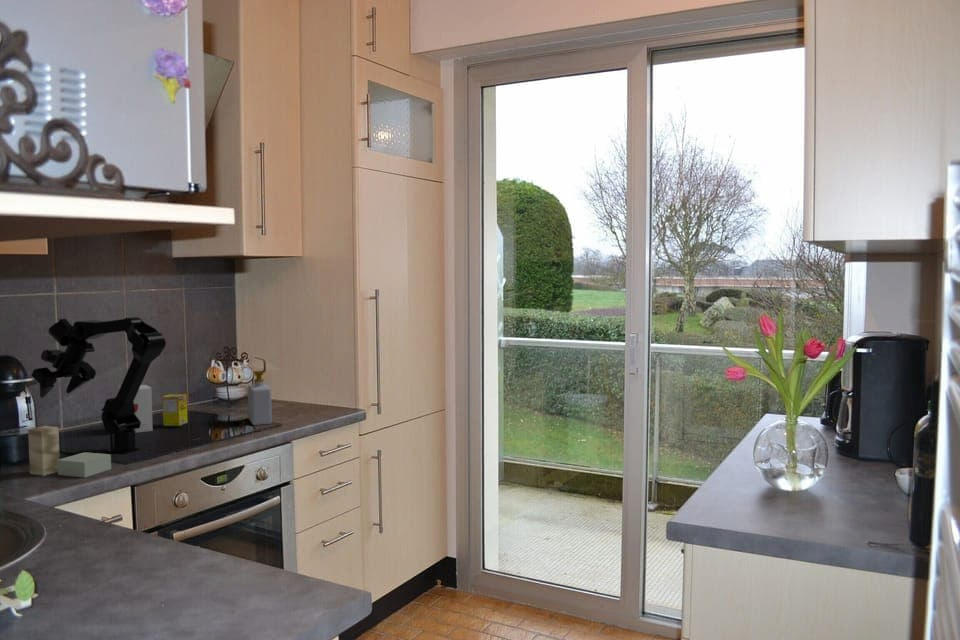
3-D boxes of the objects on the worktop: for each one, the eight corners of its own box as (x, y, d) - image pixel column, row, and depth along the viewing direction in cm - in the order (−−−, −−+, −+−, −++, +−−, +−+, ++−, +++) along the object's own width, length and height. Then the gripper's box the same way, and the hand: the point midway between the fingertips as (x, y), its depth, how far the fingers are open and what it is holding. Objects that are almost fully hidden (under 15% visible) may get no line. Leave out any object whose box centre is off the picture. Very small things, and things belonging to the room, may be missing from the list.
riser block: (111, 468, 207) (110, 454, 206) (84, 477, 198) (84, 462, 198) (85, 466, 209) (84, 452, 209) (58, 474, 201) (57, 460, 201)
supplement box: (188, 424, 267) (187, 393, 266) (179, 428, 261) (178, 396, 260) (171, 424, 267) (171, 393, 266) (163, 427, 261) (162, 396, 260)
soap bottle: (248, 419, 275) (246, 355, 274) (267, 418, 278) (265, 354, 276) (252, 425, 264) (251, 359, 262) (272, 424, 267) (270, 358, 265)
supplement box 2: (124, 434, 250) (122, 389, 250) (118, 430, 258) (117, 386, 257) (153, 431, 256) (152, 387, 255) (147, 426, 263) (145, 384, 262)
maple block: (46, 469, 207) (45, 425, 206) (60, 471, 205) (58, 427, 204) (30, 473, 202) (28, 429, 201) (43, 475, 200) (41, 430, 199)
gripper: (83, 337, 243) (64, 375, 248) (30, 342, 226) (11, 383, 230) (105, 358, 241) (86, 396, 245) (53, 364, 223) (33, 405, 227)
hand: (54, 394), depth 237 cm, fingers open, 9 cm apart
